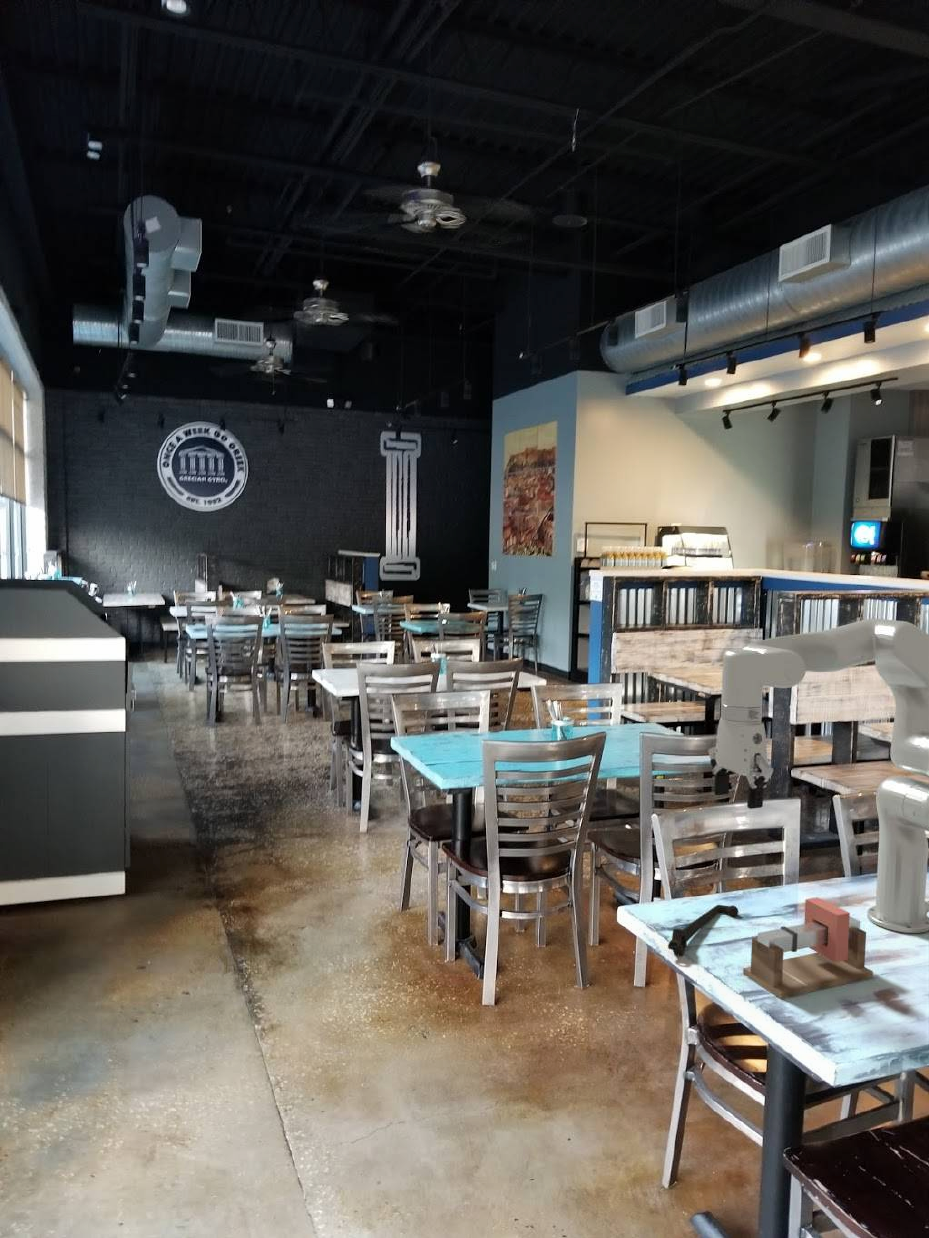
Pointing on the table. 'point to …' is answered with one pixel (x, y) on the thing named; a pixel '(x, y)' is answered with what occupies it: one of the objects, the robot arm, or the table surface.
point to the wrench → (696, 928)
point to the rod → (800, 936)
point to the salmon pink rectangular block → (829, 927)
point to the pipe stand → (806, 968)
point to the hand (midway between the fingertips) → (737, 800)
